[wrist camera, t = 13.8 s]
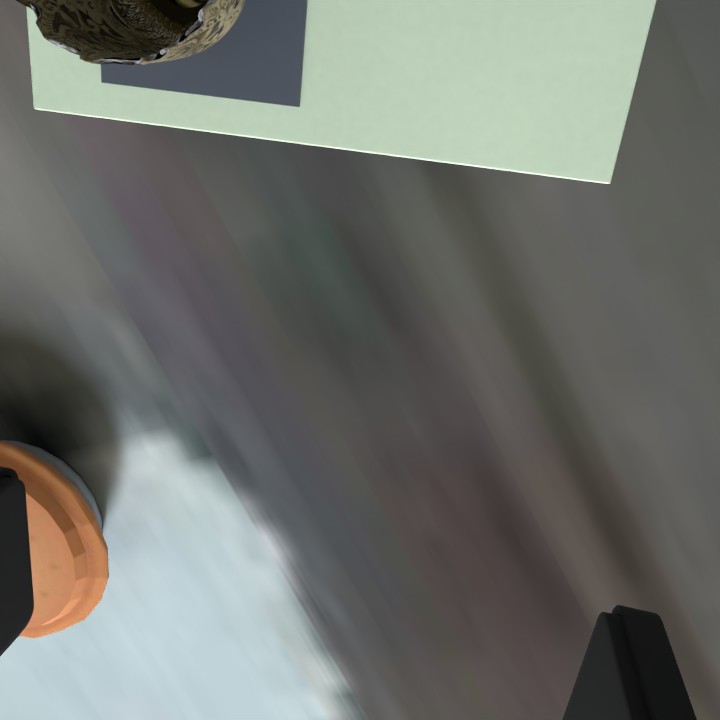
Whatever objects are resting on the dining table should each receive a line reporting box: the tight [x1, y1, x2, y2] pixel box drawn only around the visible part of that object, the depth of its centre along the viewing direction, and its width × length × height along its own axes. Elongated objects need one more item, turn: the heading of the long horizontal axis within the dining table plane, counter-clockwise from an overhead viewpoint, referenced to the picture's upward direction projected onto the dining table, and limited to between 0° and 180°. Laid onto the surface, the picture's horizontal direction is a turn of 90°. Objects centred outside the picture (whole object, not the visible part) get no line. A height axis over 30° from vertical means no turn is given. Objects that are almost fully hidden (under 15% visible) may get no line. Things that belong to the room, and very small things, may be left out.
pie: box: [0, 440, 109, 638], centre depth 43 cm, size 15×16×5 cm
